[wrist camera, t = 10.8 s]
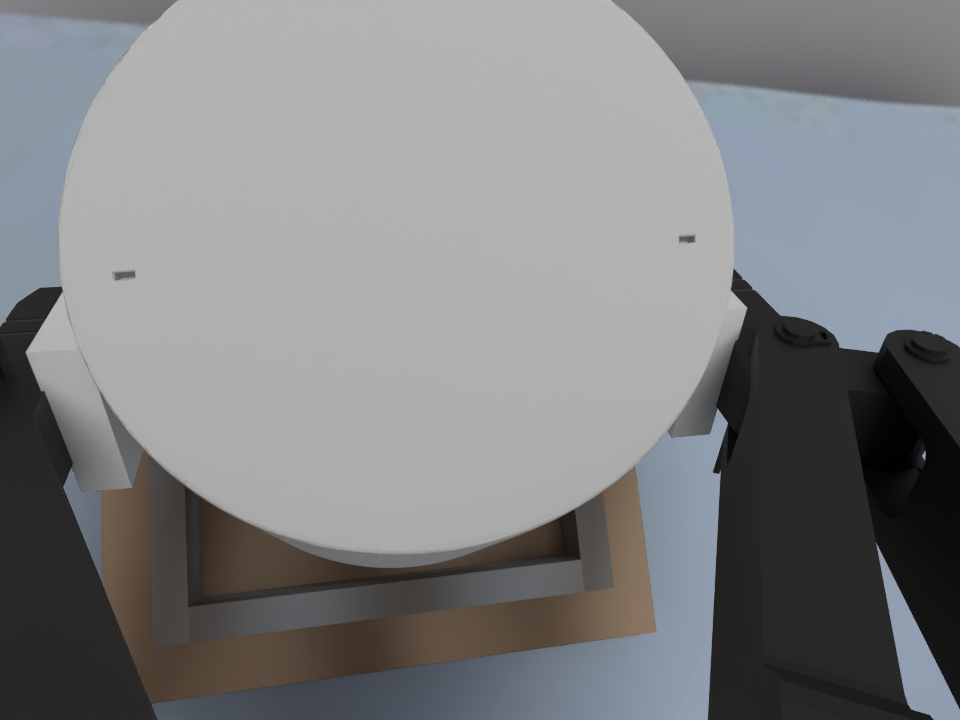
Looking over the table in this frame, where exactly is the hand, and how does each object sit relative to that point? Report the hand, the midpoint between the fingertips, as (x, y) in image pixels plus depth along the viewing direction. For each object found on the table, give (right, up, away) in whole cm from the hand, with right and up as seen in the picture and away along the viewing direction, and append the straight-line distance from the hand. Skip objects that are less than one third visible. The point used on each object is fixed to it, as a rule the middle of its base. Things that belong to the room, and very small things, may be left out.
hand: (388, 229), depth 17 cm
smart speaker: (-1, -4, +5) cm, 6 cm away
